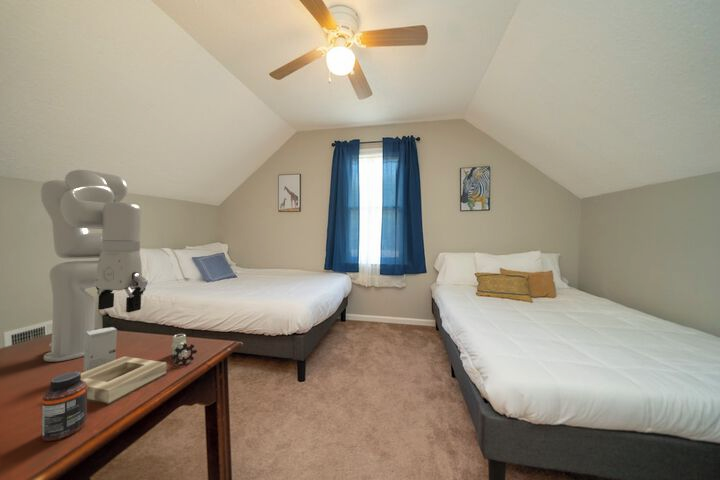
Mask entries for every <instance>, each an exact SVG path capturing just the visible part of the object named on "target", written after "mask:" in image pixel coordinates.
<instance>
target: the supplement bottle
mask: <svg viewBox="0 0 720 480" xmlns="http://www.w3.org/2000/svg"><path fill="white" fill-rule="evenodd" d="M81 373H82V372H81V371H71V372H70V371H69V372H64V373H61V374H60V375H56V376H55V377H53V378H52V379H51V380H50V388H48V390H46V392H45V393H43V396H42V403H41V404H42V406H41V409H42V411H41V412H42V413H41V426H40V428H41V438H42V439H41V440H43V441H45V442H53V441H58V440H61V439H63V438H66V437H68V436H72V435H73V434H75V433H76V432H78V431H79V430H81V429H82V428H83V427H84V426H85V425H86V424H87V419H88V401H87V383H86V382H85V381H83V380H80V379H81Z"/></svg>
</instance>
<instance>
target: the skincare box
mask: <svg viewBox="0 0 720 480" xmlns="http://www.w3.org/2000/svg"><path fill="white" fill-rule="evenodd" d="M117 332H118V329H117V328H115V327H114V326H110V327H104V328H98V329H94V330H93V331H88V332H86V333H85V336H86V337H85V351H84V356H83V372H86V371H88V370H91V369H93V368H96V367H99V366H101V365H104V364H106V363H109V362H111V361H114V360H116V354H117V353H116V352H117V350H116V349H117V336H118V335H117ZM83 372H82V373H83Z"/></svg>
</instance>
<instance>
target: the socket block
mask: <svg viewBox="0 0 720 480" xmlns="http://www.w3.org/2000/svg"><path fill="white" fill-rule="evenodd" d="M167 364H168V363H167V362H166V361H158V360H152V359H150V360H149V359H145V358H140V357H139V358H138V357H131V356H122V357H120V358H115V360H114V361H111V362H109V363H106V364H104V365H101V366H99V367H96V368H93V369H91V370H88V371H86V372H80V373H81V379H80V380H83V381H85V382H86V383H87V402H92V403H97V404H101V405H105V406H110V405H112V404H113V403H116V402H117V401H119V400H121V399H124V398H125V397H126V396H129V395H130V394H132V393H134V392H136V391H139V390H140V389H141V388H143V387H145V386H147V385H149V384H151V383H154V381H157V380H158V379H161V378H162V377H164V376H166V375H167V366H168V365H167Z"/></svg>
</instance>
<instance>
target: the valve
mask: <svg viewBox="0 0 720 480" xmlns="http://www.w3.org/2000/svg"><path fill="white" fill-rule="evenodd" d="M186 337H187V336H186V334H185V333H178V334H174V335H173V336H172V343H171V350H172V355H171V360H174V364H175V365H179V364H180V363H181V364H182V365H187V363H188V362H187V361H188V360H190V361H193V360H194V358H195V357H194V356H193V355H195V354H197V353H198V351H197V349H194V348H195V345H194V344H189V345H190V346H188V344H187V341H186V340H187V338H186ZM189 351H190V354H189ZM188 354H189V355H188ZM179 357H182V358H179Z"/></svg>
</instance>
